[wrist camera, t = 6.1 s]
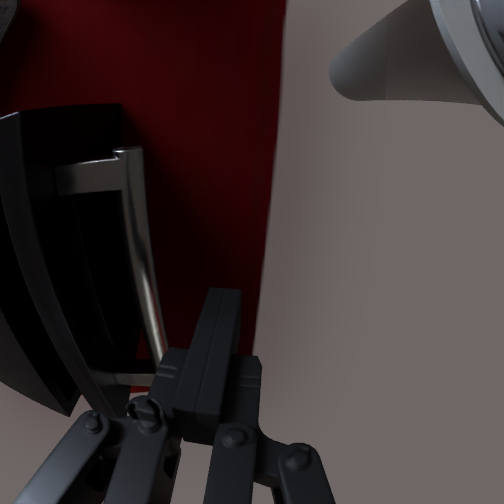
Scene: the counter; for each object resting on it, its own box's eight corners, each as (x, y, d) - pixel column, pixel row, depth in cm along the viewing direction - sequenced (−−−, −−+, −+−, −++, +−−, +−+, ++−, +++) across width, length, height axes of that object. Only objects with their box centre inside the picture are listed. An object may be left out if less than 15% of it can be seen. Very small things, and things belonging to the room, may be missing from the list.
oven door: (173, 98, 19) (122, 86, 7) (185, 310, 28) (182, 432, 17) (102, 105, 18) (-9, 120, 6) (131, 311, 28) (105, 427, 16)
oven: (102, 106, 18) (-46, 138, 6) (130, 308, 28) (69, 417, 16) (-5, 134, 19) (-103, 176, 7) (30, 288, 29) (-32, 360, 16)
